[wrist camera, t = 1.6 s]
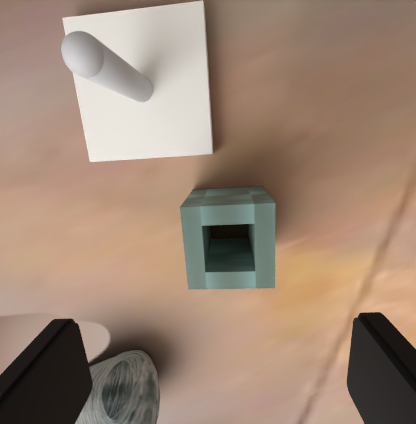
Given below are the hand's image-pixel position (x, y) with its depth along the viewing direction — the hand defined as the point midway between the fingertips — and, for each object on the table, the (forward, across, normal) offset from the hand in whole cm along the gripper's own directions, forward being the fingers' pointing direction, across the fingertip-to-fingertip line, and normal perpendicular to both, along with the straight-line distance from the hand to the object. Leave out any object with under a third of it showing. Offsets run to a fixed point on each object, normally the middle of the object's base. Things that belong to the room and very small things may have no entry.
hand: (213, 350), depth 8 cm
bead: (+14, -1, 0) cm, 14 cm away
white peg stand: (+14, +5, -11) cm, 19 cm away
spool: (+15, +13, +18) cm, 27 cm away
